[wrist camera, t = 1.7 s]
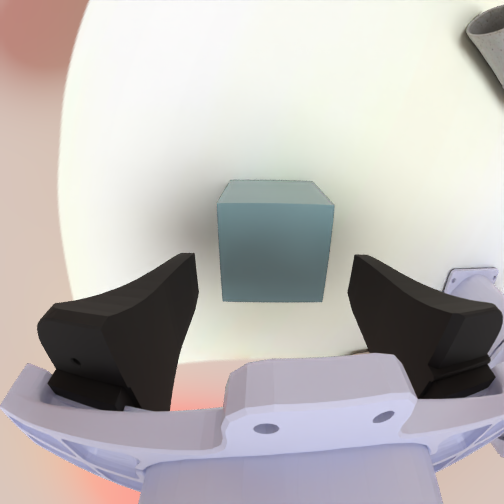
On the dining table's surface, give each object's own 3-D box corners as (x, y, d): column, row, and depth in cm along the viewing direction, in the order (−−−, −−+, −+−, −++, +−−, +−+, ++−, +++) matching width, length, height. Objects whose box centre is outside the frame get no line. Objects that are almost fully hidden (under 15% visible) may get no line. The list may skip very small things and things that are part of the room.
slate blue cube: (307, 254, 20) (322, 301, 15) (232, 254, 20) (222, 301, 15) (312, 181, 18) (334, 205, 12) (230, 180, 18) (216, 203, 12)
